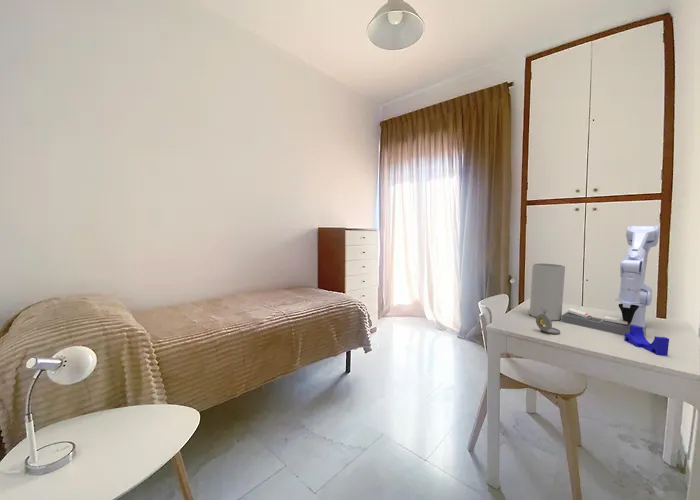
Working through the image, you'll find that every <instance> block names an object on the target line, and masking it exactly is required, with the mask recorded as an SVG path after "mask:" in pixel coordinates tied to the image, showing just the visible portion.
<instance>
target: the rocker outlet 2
mask: <svg viewBox="0 0 700 500" xmlns="http://www.w3.org/2000/svg"><path fill="white" fill-rule="evenodd" d="M604 320H605V321H610V322H614V323H615V324H616V323H621V324H628V321H623V319H622V317H621V318H619V317H614V316H607V315H605V316H604Z"/></svg>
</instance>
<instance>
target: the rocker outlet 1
mask: <svg viewBox="0 0 700 500" xmlns="http://www.w3.org/2000/svg"><path fill="white" fill-rule="evenodd" d="M567 312H570V313H573V314H576V316H582V317H585V318H588V317H589V315H590V313H587V312H584V311H582V310H578V309H575V308H572V307H570V308H568V309H567ZM590 316H591V315H590Z"/></svg>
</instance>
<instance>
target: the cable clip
mask: <svg viewBox="0 0 700 500" xmlns="http://www.w3.org/2000/svg"><path fill="white" fill-rule="evenodd" d="M623 341H624V342H626V343H628V344H630V345H632V346H634V347H637V348H642V349H643V350H647V352H650V353H652V354H654V355H656V356H666V357H668V353H669V344H670V338H668V337H665V336H654V339H653V341H652V342H649V341H648V340H647V338H646V336H645V337H644V334H643V328H642V327H640V326H630V333H625V335H624V338H623Z"/></svg>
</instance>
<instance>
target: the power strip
mask: <svg viewBox="0 0 700 500" xmlns="http://www.w3.org/2000/svg"><path fill="white" fill-rule="evenodd" d="M604 318H605V317H604ZM604 318H602V317H601V318H600V317H595V316H593V315H589V317H588V318H585V317H582V316H576V314H573V313H570V312H568V311H566V312H564V313H562V317H561V322H562V323H567V324H571V325H577V326H580V327H585V328H590V329H595V330H597V331H598V330H599V331H603V332H607V333H612V334H617V335H622V336H625V333H630V326H637V325H632V324H631V323H628V324H621V323H616V324H615V323H614V322H610V321H605V320H604ZM640 327H642V326H640ZM642 328H643V334H644V337H645V338H646V335H647V326H645V327H642Z"/></svg>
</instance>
